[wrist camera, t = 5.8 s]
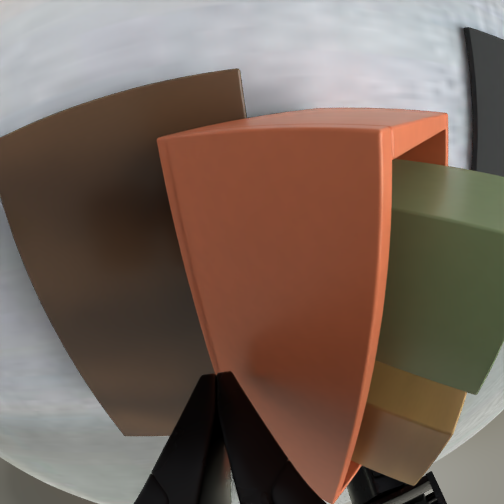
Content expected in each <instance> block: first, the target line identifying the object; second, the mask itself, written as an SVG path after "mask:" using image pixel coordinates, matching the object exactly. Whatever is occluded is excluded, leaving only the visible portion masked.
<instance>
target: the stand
mask: <svg viewBox="0 0 504 504" xmlns="http://www.w3.org/2000/svg"><path fill="white" fill-rule="evenodd" d="M245 118H247V117H246V109H245V102H244V94H243V87H242V80H241V73H240V70H239V69H229V70H222V71H215V72H208V73H202V74H196V75H191V76H185V77H180V78H175V79H170V80H166V81H161V82H157V83H153V84H148V85H144V86H140V87H136V88H132V89H129V90H125V91H121V92H118V93H114V94H111V95H108V96H104V97H101V98H98V99H95V100H92V101H89V102H86V103H83V104H80V105H77V106H74V107H71V108H69V109H66V110H63V111H60V112H58V113H55V114H53V115H50V116H48V117H45V118H43V119H40V120H38V121H35V122H33V123H31V124H28V125H26V126H24V127H22V128H19V129H17V130H15V131H13V132H11V133H9V134H7V135H5V136H3V137H0V197H1V200H2V204H3V207H4V210H5V214H6V217H7V220H8V223H9V226H10V229H11V232H12V235H13V237H14V240H15V243H16V246H17V248H18V251H19V254H20V256H21V259H22V261H23V264H24V266H25V268H26V271H27V273H28V276H29V278H30V280H31V282H32V285H33V287H34V289H35V291H36V294H37V296H38V298H39V300H40V302H41V304H42V306H43V308H44V310H45V312H46V314H47V316H48V318H49V320H50V322H51V324H52V326H53V328H54V330H55V332H56V333H57V335H58V337H59V339H60V341H61V342H62V344H63V346H64V348H65V349H66V351H67V353H68V355H69V356H70V358H71V360H72V361H73V363H74V365H75V366H76V368H77V369H78V371H79V373H80V374H81V376H82V377H83V379H84V380H85V382H86V384H87V385H88V387H89V388H90V390H91V391H92V393H93V394H94V395H95V397H96V398H97V400H98V401H99V403H100V404H101V405H102V407H103V408H104V410H105V411H106V412H107V414H108V415H109V417H110V418H111V419H112V421H113V422H114V423H115V424H116V426H117V427H118V428H119V430H120V431H121V432H122V433H123V435H124V436H170V435H171V433H172V431H173V429H174V427H175V425H176V423H177V422H178V420H179V418H180V416H181V414H182V412H183V410H184V408H185V406H186V404H187V402H188V400H189V398H190V396H191V394H192V392H193V390H194V388H195V386H196V384H197V382H198V380H199V378H200V377H201V376H202V375H205V374H212V373H215V372H214V369H213V365H212V362H211V359H210V356H209V352H208V349H207V346H206V342H205V339H204V336H203V332H202V329H201V325H200V322H199V318H198V315H197V311H196V308H195V304H194V300H193V297H192V293H191V289H190V286H189V282H188V278H187V274H186V270H185V266H184V262H183V259H182V255H181V250H180V246H179V242H178V238H177V234H176V230H175V225H174V221H173V217H172V212H171V208H170V203H169V199H168V194H167V190H166V185H165V180H164V175H163V170H162V165H161V160H160V155H159V150H158V145H157V138H159V137H162V136H166V135H170V134H174V133H178V132H182V131H187V130H191V129H195V128H200V127H204V126H209V125H214V124H219V123H224V122H229V121H234V120H239V119H245Z"/></svg>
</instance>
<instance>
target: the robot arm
mask: <svg viewBox="0 0 504 504" xmlns="http://www.w3.org/2000/svg"><path fill="white" fill-rule="evenodd" d="M231 471H232V475H233V479H234V483H235V487H236V490H237V494H238V498H239V501H240V504H326V503H325V502H324V501H323V500H322V499H321V498H320V497H319V496H318V495H317V494H316V493H315V492H314V490H313V489H312V488H311V487H310V486H309V485H308V484H307V483H306V481H305V480H304V479H303V478H302V476H301V475H300V474H299V472H298V471H297V470H296V468H295V467H294V466H293V464H292V463H291V461H290V460H288V457H287V456H286V454H285V453H284V451H283V450H282V449H281V447H280V446H279V444H278V443H277V441H276V440H275V438H274V437H273V435H272V434H271V432H270V431H269V429H268V428H267V426H266V425H265V423H264V422H263V420H262V419H261V417H260V416H259V414H258V412H257V411H256V409H255V408H254V406H253V405H252V403H251V402H250V400H249V398H248V397H247V395H246V394H245V392H244V390H243V389H242V387H241V386H240V384H239V382H238V381H237V379H236V377H235V376H234V374H233V373H232V372H231V371H225V372H219V373H217V375H216V374H215V373H212V374H205V375H202V376H201V377H200V378H199V380H198V382H197V384H196V386H195V388H194V390H193V392H192V394H191V396H190V398H189V400H188V402H187V404H186V406H185V408H184V410H183V412H182V414H181V416H180V418H179V420H178V422H177V423H176V425H175V427H174V429H173V431H172V433H171V435H170V437H169V439H168V441H167V443H166V445H165V447H164V449H163V451H162V453H161V455H160V457H159V459H158V460H157V462H156V464H155V466H154V468H153V470H152V474H150V476H149V478H148V479H147V481H146V483H145V485H144V487H143V489H142V491H141V492H140V494H139V496H138V498H137V499H136V501H135V502H134V504H231ZM347 489H348V492H349V496H350V499H351V502H352V504H447V503H446V501H445V499H444V496H443V494H442V492H441V490H440V488H439V485H438V483H437V481H436V479H435V477H434V475H433V473H432V471H431V472H429V473H427V474H426V475H425V476H423V477H422V478H421V479H420V480H419V481H418V482H417V484H416V485H415V486H412V485H409V484H407V483H404V482H401V481H399V480H396V479H394V478H391V477H389V476H386V475H384V474H381V473H379V472H376V471H374V470H372V469H369V468H367V467H365V466H361V467H360V469H359V470H358V472H357V473H356V474H355V476H354V477H353V479H352V480H351V481H350V483H349V484H348V485H347ZM430 489H433V491H434V492H432V493H430V494H428V495H427V496H425V495H424V493H425V492H426V491H429V490H430Z"/></svg>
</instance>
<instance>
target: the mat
mask: <svg viewBox="0 0 504 504" xmlns="http://www.w3.org/2000/svg"><path fill="white" fill-rule="evenodd" d="M464 31H465V37H466V44H467V51H468V59H469V67H470V78H471V91H472V111H473V154H472V171H478V172H483V173H488V174H493V175H498V176H502V177H504V40H503V39H500V38H498V37H495V36H493V35H490V34H487V33H484V32H481V31H478V30H476V29H472V28H469V27H467V28H464Z"/></svg>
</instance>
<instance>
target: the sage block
mask: <svg viewBox="0 0 504 504" xmlns="http://www.w3.org/2000/svg"><path fill="white" fill-rule="evenodd" d="M503 342H504V177H502V176H498V175H493V174H488V173H483V172H478V171H472V170H467V169H461V168H456V167H450V166H443V165H437V164H430V163H423V162H416V161H408V160H400V159H393V160H392V208H391V231H390V246H389V259H388V271H387V281H386V290H385V298H384V306H383V314H382V321H381V328H380V334H379V340H378V346H377V352H376V358H375V360H376V361H379V362H381V363H384V364H387V365H390V366H392V367H395V368H398V369H401V370H403V371H406V372H409V373H412V374H415V375H417V376H420V377H423V378H426V379H429V380H432V381H435V382H438V383H441V384H444V385H447V386H450V387H453V388H456V389H459V390H462V391H465V392H468V393H471V394H474V395H477V394H478V392H479V390H480V389H481V387H482V385H483V383H484V381H485V379H486V377H487V376H488V374H489V372H490V370H491V368H492V366H493V364H494V362H495V360H496V358H497V355H498V353H499V351H500V349H501V347H502V345H503Z"/></svg>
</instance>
